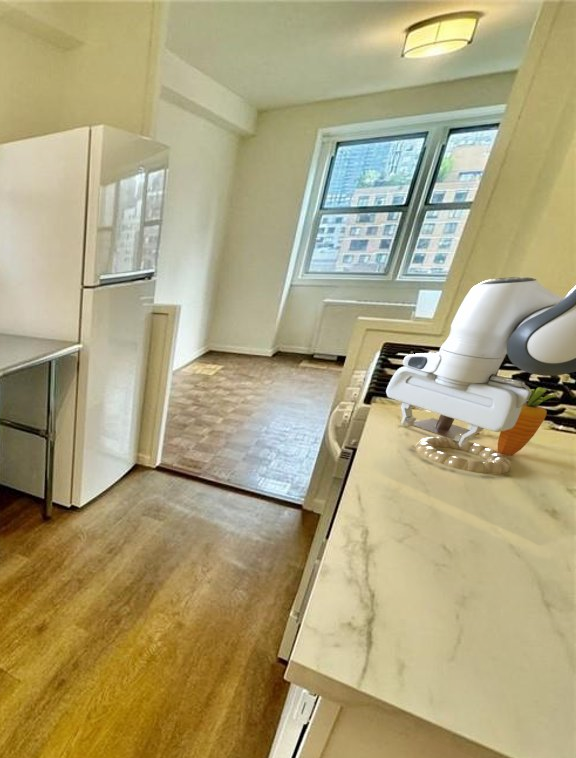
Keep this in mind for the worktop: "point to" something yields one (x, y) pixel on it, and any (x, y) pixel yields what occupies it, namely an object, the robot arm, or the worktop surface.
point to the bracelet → (494, 465)
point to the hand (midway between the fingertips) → (431, 433)
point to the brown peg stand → (441, 426)
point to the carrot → (524, 424)
